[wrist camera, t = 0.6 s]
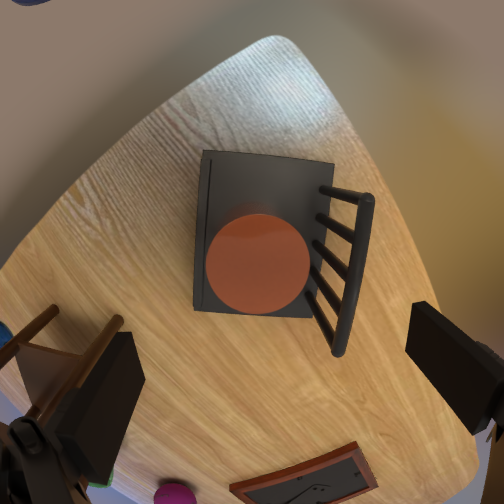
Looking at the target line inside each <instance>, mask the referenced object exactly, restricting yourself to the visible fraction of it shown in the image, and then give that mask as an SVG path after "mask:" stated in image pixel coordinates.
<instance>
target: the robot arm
mask: <svg viewBox="0 0 504 504" xmlns="http://www.w3.org/2000/svg"><path fill="white" fill-rule="evenodd" d="M405 352H406V353H407V354H408V355H409V357H410V358H411V359H412V360H413V361H414V363H415V364H416V365H417V366H418V367H419V369H420V370H421V371H422V372H423V374H424V375H425V376H426V377H427V378H428V380H429V381H430V382H431V383H432V385H433V386H434V387H435V388H436V390H437V391H438V392H439V393H440V395H441V396H442V397H443V398H444V400H445V401H446V402H447V404H448V405H449V406H450V407H451V409H452V410H453V411H454V413H455V414H456V415H457V416H458V418H459V419H460V420H461V422H462V423H463V424H464V426H465V427H466V428H467V430H468V431H469V432H470V433H471V435H472V436H473V435H475V434H477V433H479V432H481V431H483V430H485V429H486V428H487V426H488V424H489V422H490V420H491V418H493V419H494V421H495V422H496V423H495V425H494V427H493V429H492V430H491V432H490V434H489V436H488V438H487V440H486V442H488V441H489V440H490V438H491V437H492V441H491V450H490V457H489V463H488V469H487V475H486V480H485V485H484V491H483V495H482V499H481V503H480V504H504V360H503V359H502V358H499V356H498V355H497V354H496V353H494V351H493V350H492V349H490V348H489V347H488V346H487V345H485V344H482V343H480V342H478V341H476V342H475V341H474V340H472V339H471V338H470V337H469V336H467V335H466V334H465V333H464V332H463V331H462V330H460V329H459V328H458V327H457V326H455V325H454V324H453V323H452V322H451V321H450V320H448V319H447V318H446V317H444V316H443V315H442V314H441V313H440V312H438V311H437V310H436V309H435V308H433V307H432V306H431V305H430V304H428V303H427V302H426V301H421V302H416V303H412V309H411V317H410V323H409V330H408V336H407V342H406V348H405ZM145 380H146V379H145V376H144V373H143V370H142V367H141V363H140V360H139V357H138V353H137V350H136V346H135V343H134V339H133V336H132V332H116V334H115V335H114V337H113V338H112V340H111V341H110V343H109V344H108V346H107V347H106V349H105V350H104V352H103V353H102V355H101V356H100V358H99V359H98V361H97V362H96V364H95V365H94V367H93V368H92V370H91V371H90V373H89V375H88V376H87V378H86V379H85V381H84V382H83V384H82V386H81V387H80V388H78V387H73V388H72V389H71V390H70V391H68V392H67V393H66V394H65V395H64V397H63V398H62V400H61V401H60V404H58V406H57V407H56V409H55V411H54V412H53V414H52V415H51V417H50V418H49V420H48V422H47V423H46V425H45V426H44V428H43V429H42V428H41V426H40V425H39V423H38V421H37V420H36V419H35V418H33V417H31V416H23V417H19V418H17V419H15V420H14V421H13V422H11V424H10V425H9V426H8V428H7V435H8V437H9V438H10V440H11V441H12V443H13V444H14V445H5V443H4V442H3V441H2V439H1V438H0V504H92V503H91V502H90V499H89V498H88V496H87V494H86V492H85V490H84V488H83V486H82V484H81V483H80V482H79V479H80V476H81V474H83V475H84V477H85V478H86V479H87V481H88V482H91V483H95V484H100V485H105V486H107V484H108V481H109V478H110V475H111V472H112V469H113V466H114V463H115V461H116V458H117V455H118V452H119V449H120V446H121V443H122V441H123V438H124V435H125V432H126V430H127V427H128V424H129V422H130V419H131V416H132V413H133V411H134V408H135V405H136V403H137V400H138V398H139V395H140V392H141V390H142V387H143V385H144V382H145Z"/></svg>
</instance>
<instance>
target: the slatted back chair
mask: <svg viewBox="0 0 504 504" xmlns="http://www.w3.org/2000/svg"><path fill="white" fill-rule="evenodd" d="M334 165H335V164H333V163H326V162H319V161H312V160H305V159H297V158H289V157H281V156H272V155H262V154H252V153H241V152H229V151H215V150H203V157H202V159H201V166H200V178H199V191H198V205H197V220H196V238H195V258H194V283H193V306H194V311H204V312H216V313H228V314H242V315H257V316H274V317H294V318H312V317H313V315H314V317H315V319H316V321H317V323H318V325H319V327H320V329H321V331H322V333H323V335H324V337H325V339H326V341H327V343H328V345H329V347H330V349H331V353H332V355H333V356H334V357H337V358H339V357H342V356H343V355H344V354H345V351H346V347H347V343H348V339H349V335H350V331H351V327H352V323H353V319H354V315H355V310H356V306H357V301H358V297H359V292H360V287H361V283H362V278H363V273H364V267H365V262H366V257H367V251H368V245H369V239H370V233H371V227H372V220H373V213H374V206H375V198H374V196H373V195H372V194H371V193H367V192H366V193H361V192H356V191H351V190H346V189H341V188H335V187H332V184H333V174H334ZM331 197H332V198H336V199H339V200H342V201H346V202H349V203H352V204H355V205H358V209H357V216H356V223H355V230H352V229H350V228H349V227H347V226H345V225H343V224H341V223H339V222H337V221H336V220H334V219H332V218H330V217H328V216H329V209H330V201H331ZM251 201H252V202H262V203H265V204H268V205H270V206H272V207H273V208H275V209H276V210H277V211H278V212H279V213H280V214H281V215H282V216H283V217H284V218H285V219H286V220H287V221H288V222H289V223H290V224H291V225H292V226H293V227H294V228H295V229H296V230H297V231H298V232H299V233H300V235H301V236H302V238H303V239H304V241H305V243H306V245H307V248H308V251H309V256H310V270H309V275H308V278H307V281H306V284H305V286H304V287H303V289H302V291H301V292H300V293H299V295H298V296H297V297H296V298H295V299H294V300H293V301H292V302H291V303H289V304H288V305H286V306H285V307H283V308H281V309H279V310H276V311H273V312H270V313H264V314H250V313H244V312H241V311H238V310H235V309H233V308H231V307H230V306H228V305H227V304H225V303H224V302H223V301H222V300H221V299H220V298H219V297H218V296H217V295H216V294H215V292H214V291H213V289H212V288H211V285H210V283H209V281H208V277H207V272H206V257H207V253H208V249H209V247H210V244H211V241H212V239H213V236H214V233H215V231H216V228H217V226H218V223H219V221H220V220H221V218H222V217H223V215H224V214H225V213H226V212H227V211H228V210H230V209H231V208H232V207H234V206H236V205H238V204H241V203H244V202H251ZM327 228H328V229H330V230H331V231H333V232H334V233H336V234H337V235H339V236H340V237H342V238H343V239H345V240H346V241H348V242H349V243H351V244H352V249H351V255H350V261H349V266H348V267H347V266H346V265H345V264H344V263H343V262H342V261H341V260H340V259H339V258H338V257H337V256H335V255H334V254H333V253H332V252H331V251H330V250H329V249H328V248H327V247H325V246H324V245H325V238H326V231H327ZM322 259H324V260H325V261H326V262H327V263H328V264H329V265H330V266H331V267H332V268H333V269H334V270H335V272H336V273H337V274H338V275H339V276H340V277H341V278H342V279H343V280H344V281H345V282H346V283H345V288H344V293H343V298H342V301H341V300H340V298H339V297H338V296H337V294H336V293H335V292H334V290H333V289H332V288H331V287H330V285H329V284H328V283H327V281H326V280H325V279H324V277H323V276H322V275H321V274H320V271H321V265H322ZM318 287H319V289H320V291H321V292H322V294H323V295H324V297H325V298H326V300H327V301H328V303H329V304H330V306H331V307H332V309H333V310H334V312H335V313H336V315H337V316H338V321H337V326H336V330H335V331H334V330H333V328H332V326H331V324H330V323H329V321H328V319H327V317H326V316H325V314H324V312H323V311H322V309H321V307H320V305H319V304H318V302H317V300H316V295H317V289H318Z"/></svg>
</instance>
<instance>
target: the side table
mask: <svg viewBox="0 0 504 504" xmlns="http://www.w3.org/2000/svg"><path fill="white" fill-rule="evenodd" d="M58 314H59V308H58V306H57V305H55V304H52V305H51V306H49V307H48V308H47V309H46V310H45V311H43V312H42V313H41V314H40V315H39V316H37V317H36V318H35V319H34V320H33V321H32V322H30V323H29V324H28V325H27V326H26V327H25V328H23V329H22V330H21V331H20V332H19V333H18V334H17V335H15V336H14V337H13V338H12V339H11V340H10V341H9V342H8V343H7V344H5V345H4V346H3V347H2V348H1V349H0V370H1V369H2V368H3V367H4V366H5V365H6V364H7V363H8V362H9V361H10V360H11V359H12V358H13V357H14V356H15V357H16V361H17V364H18V367H19V370H20V373H21V376H22V379H23V382H24V385H25V387H26V390H27V393H28V395H29V398H30V401H31V403H32V406H31V408H30V409H29V410H28V412H27V413H26V415H25V416H31V417H33V418H35V419H36V420H37V419H38V418H39V419H38V420H37V421H38V423H39V425H40V426H41V428H42V429H43V428H44V426H45V425H46V423H47V422H48V420H49V418H50V417H51V415H52V414H53V412H54V411H55V409H56V407H57V406H58V404H60V401H61V400H62V398H63V397H64V395H65V394H66V393H67V392H68V391H70V390H71V389H72V388H73V387H78V388H80V387H81V386H82V384H83V382H84V381H85V379H86V378H87V376H88V375H89V373H90V371H91V370H92V368H93V367H94V365H95V364H96V362H97V361H98V359H99V358H100V356H101V355H102V353H103V352H104V350H105V349H106V347H107V346H108V344H109V343H110V341H111V340H112V338H113V337H114V335H115V334H116V332H118V330H119V329H120V328H121V326H122V325H123V323H124V320H123V318H122V317H121V316H120V315H114V316H113V317H112V318H111V320H110V321H109V322H108V323H107V325H106V326H105V327H104V329H103V330H102V331H101V333H100V334H99V335H98V336H97V338H96V339H95V340H94V342H93V343H92V344H91V346H90V347H89V348H88V350H87V351H86V352H85V354H84V355H83V356H81V355H76V354H72V353H67V352H63V351H59V350H55V349H51V348H47V347H43V346H40V345H36V344H32V343H29V341H30V340H31V339H32V338H33V337H34V336H35V335H36V334H37V333H38V332H39V331H41V330H42V329H43V328H44V327H45V326H46V325H47V324H48V323H49V322H50V321H51V320H52V319H53V318H55V317H56V316H57V315H58ZM40 415H41V416H40ZM39 416H40V417H39ZM7 428H8V425H6V424H4V423H2V422H0V438H1V439H2V441H3V442H4V443H5V445H14V444H13V443H12V441H11V440H10V438H9V437H8V435H7ZM79 482H80V483H81V484H82V486H83V488H84V490H85V492H86V489H87V486H88V484H89V482H88V481H87V479H86V478H85V477H84V475H83V474H81V476H80V479H79Z"/></svg>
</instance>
